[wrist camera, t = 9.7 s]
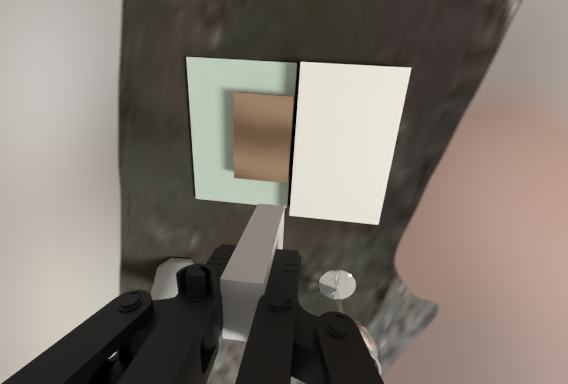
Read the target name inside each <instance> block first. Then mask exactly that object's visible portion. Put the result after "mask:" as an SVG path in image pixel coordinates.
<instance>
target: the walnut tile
mask: <svg viewBox="0 0 568 384" xmlns="http://www.w3.org/2000/svg"><path fill="white" fill-rule="evenodd" d="M294 105H295V96H289V95H275V94H261V93H248V92H234V178H238V179H248V180H258V181H268V182H279V183H288V180H289V172H290V159H291V146H292V132H293V119H294Z"/></svg>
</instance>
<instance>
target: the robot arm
mask: <svg viewBox="0 0 568 384" xmlns="http://www.w3.org/2000/svg"><path fill="white" fill-rule="evenodd" d="M284 208H285V206H282V205H270V204H258V205H257V207H256V209H255V211H254V213H253V215H252V217H251V219H250V221H249V223H248V225H247V227H246V229H245V231H244V233H243V235H242V237H241V239H240V241H239V242H238V244H237V246H235V245H225V244H222V245H221V246H220V247H218V248H217V249H215V250H214V252H213V253H212V255H211V256H210V258H209V260H208V261H207V264H192V265H188V266H185V267H183V268H181V269H180V270H179V271H178V272H177V273H176V279H177V287H178V294H177V295H176V297H173V298H168V299H160V300H152V296H151V294H150V293H148V292H147V291H143V290H134V291H129V292H126V293H123V294H121V295H120V296H118V297H117V298H115V299H114V300H112V301H111V302H109V303H108V304H107V305H106V306H104V307H103V308H101V309H100V310H99V311H98V312H96V313H95V314H94V315H92V316H91V317H90V318H88V319H87V320H86V321H84V322H83V323H82V324H80V325H79V326H78V327H76V328H75V329H74V330H72V331H71V332H70V333H68V334H67V335H66V336H64V337H63V338H62V339H60V340H59V341H58V342H56V343H55V344H54V345H53V346H51V347H50V348H48V349H47V350H46V351H44V352H43V353H42V354H40V355H39V356H38V357H36V358H35V359H34V360H32V361H31V362H30V363H28V364H27V365H26V366H24V367H23V368H22V369H20V370H19V371H18V372H16V373H15V374H14V375H12V376H11V377H10V378H9V379H7V380H6V381H4V382H3V383H2V384H206V383H207V380H208V377H209V375H210V372H211V369H212V367H213V364H214V361H215V358H216V356H217V353H218V348H219V340H218V339H219V336H220V333H221V331H222V328H223V338H224V339H232V340H240V341H247V343H246V347H245V351H244V354H243V358H242V361H241V365H240V369H239V372H238V376H237V379H236V383H235V384H290V382H291V376H292V377H294V378H296V379H298V380H300V381H302V382H304V383H306V384H384V382H383V380H382V378H381V376H380V374H379V372H378V369H377V367H376V365H375V363H374V361H373V359H372V356H371V354H370V352H369V350H368V348H367V346H366V343H365V341H364V339H363V337H362V335H361V332H360V330H359V328H358V326H357V325H356V323H355V322H354V320H353V319H351V318H350V317H349V316H347V315H345V314H343V313H340V312H332V311H331V312H327V313H324V314H322V315H321V316H319V317H317V316H315V315H312V314H310V313H308V312H307V311H305V310H304V309H303V308H302V307H301V305H300V304H299V302H298V291H299V279H300V266H301V257H300V255H299V253H298V251H294V250H284V249H282V248H283V230H284ZM116 351H117V353H116V354H115V355H114V356H113V357H112V358H110V357H111V356H112V355H113V354H114V353H115V352H116ZM108 358H110V359H108Z"/></svg>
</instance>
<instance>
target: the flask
mask: <svg viewBox="0 0 568 384" xmlns="http://www.w3.org/2000/svg"><path fill="white" fill-rule="evenodd" d="M192 264H195V263H194V262H193V261H192V260H191V259H182V258H170V259H169V260H167V261H166V262H164V263H162V264H161V265H159V266H158V268H157V271H156V275H155V280H154V284H153V288H152V291H151V296H152V300H160V299H168V298H173V297H176V295H177V294H178V287H177V279H176V273H177V272H178V271H179V270H180V269H181V268H183V267H185V266H188V265H192Z"/></svg>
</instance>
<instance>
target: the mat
mask: <svg viewBox="0 0 568 384" xmlns="http://www.w3.org/2000/svg"><path fill="white" fill-rule="evenodd" d="M186 61H187V76H188V91H189V106H190V120H191V135H192V150H193V165H194V180H195V194H196V199H204V200H214V201H224V202H234V203H244V204H254V205H258V204H270V205H282V206H285V208H287V204H288V189H289V180H288V183H279V182H268V181H258V180H248V179H238V178H234V92H248V93H261V94H275V95H289V96H295V87H296V72H297V63H288V62H270V61H252V60H234V59H216V58H198V57H186ZM290 160H291V159H290ZM289 175H290V172H289Z"/></svg>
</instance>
